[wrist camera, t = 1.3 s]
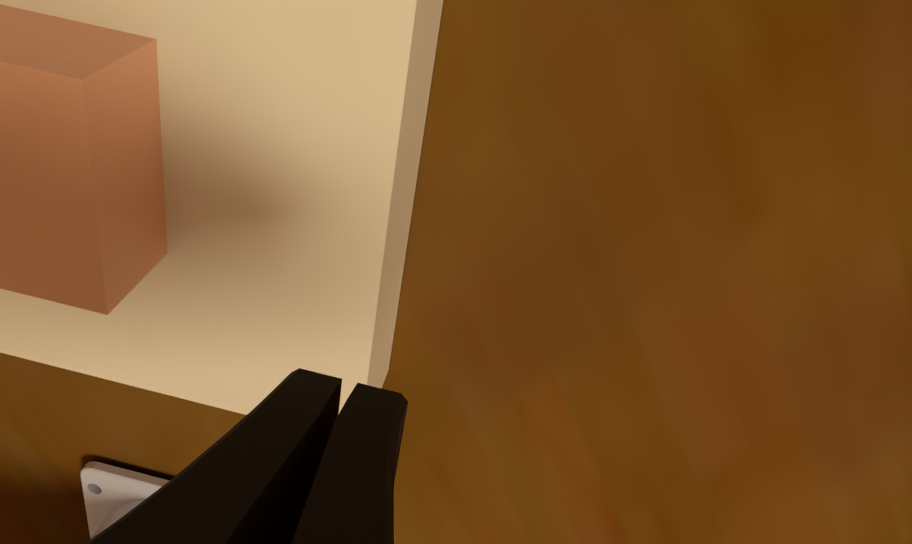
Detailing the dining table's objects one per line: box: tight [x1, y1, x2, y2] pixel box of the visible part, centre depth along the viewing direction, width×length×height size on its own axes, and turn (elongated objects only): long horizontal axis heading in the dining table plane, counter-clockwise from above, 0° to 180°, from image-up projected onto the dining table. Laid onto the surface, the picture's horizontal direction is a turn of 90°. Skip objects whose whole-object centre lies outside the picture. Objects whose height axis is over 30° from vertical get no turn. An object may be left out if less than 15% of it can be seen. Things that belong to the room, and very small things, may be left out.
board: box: [0, 0, 443, 415], centre depth 18 cm, size 14×18×3 cm
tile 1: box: [0, 4, 168, 315], centre depth 16 cm, size 5×5×2 cm
